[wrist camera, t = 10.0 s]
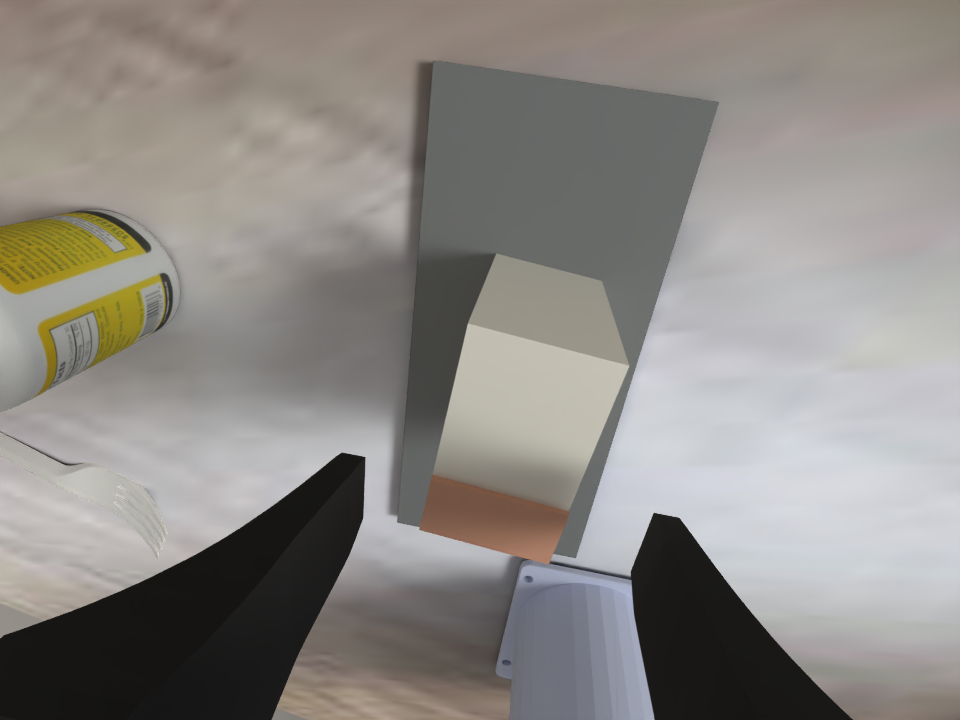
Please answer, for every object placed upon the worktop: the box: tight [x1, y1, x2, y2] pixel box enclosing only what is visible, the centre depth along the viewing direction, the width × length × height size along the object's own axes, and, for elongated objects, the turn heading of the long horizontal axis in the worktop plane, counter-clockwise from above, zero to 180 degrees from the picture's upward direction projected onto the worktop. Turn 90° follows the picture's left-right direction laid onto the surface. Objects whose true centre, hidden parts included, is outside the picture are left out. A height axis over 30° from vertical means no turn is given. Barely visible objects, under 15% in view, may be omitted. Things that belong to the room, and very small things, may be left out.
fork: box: [0, 432, 167, 559], centre depth 26 cm, size 3×20×2 cm, turn 61°
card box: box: [419, 254, 629, 565], centre depth 16 cm, size 4×7×7 cm, turn 167°
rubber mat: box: [397, 60, 719, 558], centre depth 20 cm, size 20×9×1 cm, turn 172°
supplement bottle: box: [0, 209, 180, 412], centre depth 17 cm, size 5×5×10 cm
